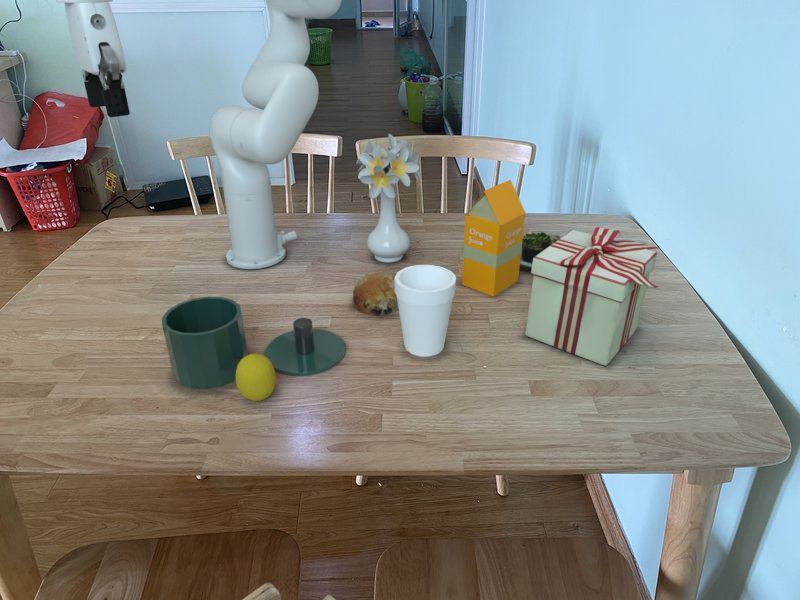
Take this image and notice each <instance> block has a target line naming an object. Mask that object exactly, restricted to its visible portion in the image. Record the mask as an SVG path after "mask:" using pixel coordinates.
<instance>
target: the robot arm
mask: <svg viewBox="0 0 800 600" xmlns="http://www.w3.org/2000/svg"><path fill="white" fill-rule="evenodd" d="M55 2H56V3H60V4H61V3H63V4H64V9H65V16H66V20H67V26H68V31H69V34H70V39H71V44H72V47H73V52H74V54H75V55H74V56H75V59H76V62H77V65H78V67H79V68H80V69H81V70H82V71H81V72H82V79H83V82H84V84H83V85H84V88H85V92H86V96H87V100H88V106H89V107H90V108H100V107H105V110H106V115H107V116H108V117H109V118H117V117H126V116H129V115H130V114H131V111H130V107H129V102H128V97H127V92H126V88H125V83H124V80H123V74H124V73H126V71H127V69H128V68H127V62H126V59H125V55H124V50H123V46H122V42H121V38H120V33H119V30H118V25H117V22H116V20H115V17H114V13H113V10H112V7H111V4H110V3H111V2H113V0H56V1H55ZM265 3H266V7H267V10H268V11H267V12H268V15H269V23H270V24H269V26H270V28H269V32H268V35H267V38H266V40H265V42H264V44H263V45H262V47H261V49H260V51H259V52H258V54H257V56H256V57H255V59H254V61H253V62H252V64H251V66H250V67H249V68H248V71H247V73H246V75H245V77H244V78H243V82H242V85H241V90H242V95H243V99H245V101H246V102H247V103H248V104H249V105H251V106H252V107H249V106H242V105H235V104H233V105H226V106H223V107H221V108H220V109H218V110H216V111H215V113H214V114H213V116H212V118H211V119H210V121H209V129H208V130H209V139H210V142H211V147H212V149H213V152H214V154H215V157H216V160H217V163H218V168H219V173H220V178H221V185H222V191H223V197H224V204H225V210H226V218H227V224H228V230H229V236H230V244H231V248H230V249H228V250H227V251H226V254H225V261H226V263H227V264H228V265H230V266H231V267H233V268H237V269H241V270H242V269H243V270H258V269H265V268H269V267H272V266H275V265H277V264H279V263H280V262H282V261H283V260H284V259H285V258H286V255H287V251H286V248H285V246H284V245H286V243H288V242H293V241H296V240H297V239H298V236H297V232H296V231H295V230H293V231H289V232H287V233H286V232H285V231H284V230H280V231H278V232H277V228H276V227H277V226H276V219H275V209H274V201H273V192H272V181H271V176H270V171H269V168H268V165H276V164H279V163H281V162H283V161H284V160H285V159H286V158H287V157H288V156H289V155H290V153H291V152H292V150H293V148H294V147H295V146H296V144H297V143H298V140H299V138H300V137H301V135H302V133H303V132H304V130H305V129H306V126H307V125H308V123H309V121H310V119H311V117H312V115H313V113H314V112H315V110H316V107H317V104H318V100H319V95H320V93H319V92H320V90H319V82H318V79H317V77H316V75H315V74H314V72H313V71H312V70H311V69H310V68H308V67H307V66H305V64H306V62H307V61H308V57H309V55H310V51H311V44H310V43H311V42H310V37H309V36H310V35H309V32H308V29H307V28H308V27H307V25H306V20H305V18H306V19H321V20H323V19H327V18H330V17H332V16H334V15H335V14H336V13H337V12H338V10H339V9H340V7H341V4H342V0H265Z"/></svg>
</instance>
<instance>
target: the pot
mask: <svg viewBox="0 0 800 600" xmlns="http://www.w3.org/2000/svg"><path fill="white" fill-rule="evenodd" d="M161 327H162V331H163V335H164V340H165V344H166V347H167V351H168V353H167V354H168V357H169V361H170V366H171V370H172V375H173V378H174V380H175V381H176V382H177V383H178V384H179V385H180V386H182V387H184V388H189V389H192V390H212V389H216V388H221V387H224V386H227V385H229V384H231V383H233V382H236V369H237V366H238V364H239V362H240V361H241V359H243V358H244V357H245V356H247V355H249V351H248V344H247V339H246V331H245V325H244V319H243V312H242V309H241V304H239V303H238V302H237V301H235V300H234V299H232V298H227V297H223V296H202V297H194V298H190V299H188V300H185V301H182V302H180V303H177V304H175V305H174V306H172V307H171V308H169V309H168V310H167V311H166V312H165V313H164V314H163V316H162V317H161Z"/></svg>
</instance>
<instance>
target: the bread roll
mask: <svg viewBox="0 0 800 600" xmlns="http://www.w3.org/2000/svg"><path fill="white" fill-rule="evenodd" d="M395 276H396V275H393V273H392V274H391V273H389V272H386V271H369V272H368V273H366V274H365V275H364V276H363V277H362V278H361V279H360V280H359V281H357V282H356V283H355V285H354V288H353V292H352V299H353V305H354V308H355V309H356V310H357V311H358V312H360V313H362V314H365V315H370V316H381V315H389V314H391V313H396V312H397V311H398V312H399V308H398V302H397V296H396V294H395V279H394V278H395Z"/></svg>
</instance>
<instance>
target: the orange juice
mask: <svg viewBox="0 0 800 600" xmlns="http://www.w3.org/2000/svg"><path fill="white" fill-rule="evenodd" d="M525 217H526V211H525V209H524V207H523V204H522V201H521V200H520V197H519V196H518V193H517V191H516V189H515V187H514V184H513V182H512V180H511V179H509V180H506V181H504V182H502V183H499V184H496V185H494V186H492V187H490V188H487V189H485V190H483V192H482V194H481V195H480V197H479V198H478V199H477V201H476V202H475V203H474V204H473V206H472V207H471V208H470V209H469V211H468V212H467V213H466V214H465V215H464V231H463V233H464V235H463V247H462V274H461V276H462V277H461V285H462V286H465V287H467V288H470V289H472V290H475V291H478V292H480V293H483V294H485V295H488V296H490V297H496V296H497V295H499V294H500V293H501V292H504V291H506V289H508V288H510V287H511V286H513V285H514V284H516V283H517V282H519V277H520V258H521V251H522V238H523V236H524V227H525V219H526V218H525Z"/></svg>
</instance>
